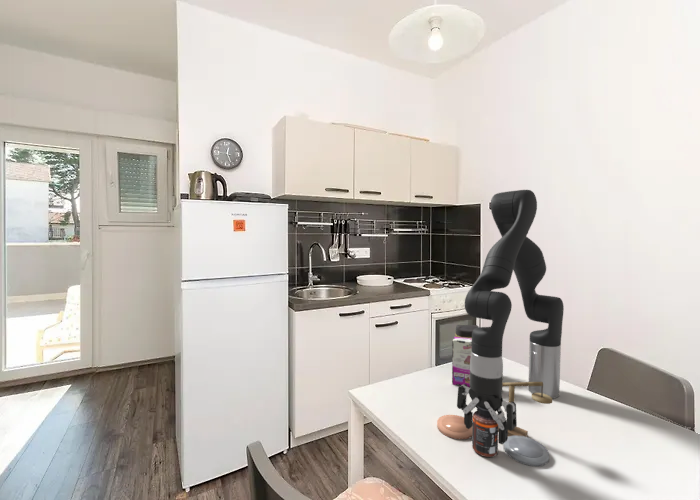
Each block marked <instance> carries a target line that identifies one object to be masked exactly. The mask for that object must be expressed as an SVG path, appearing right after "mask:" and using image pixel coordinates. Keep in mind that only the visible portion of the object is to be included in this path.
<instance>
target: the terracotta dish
mask: <svg viewBox="0 0 700 500" xmlns="http://www.w3.org/2000/svg"><path fill="white" fill-rule="evenodd" d="M436 423H437V424H436V428H437V430H438V432H440V433H441V434H442V435H444V436H446V437H448V438H449V439H450V438H451V439H454V440H468V439H472V429H473V424H472V427H471V428H470V429H468V428H466V425H465V424H464V416H462V415H457V414H444V415H442V416H440V417H438V418H437V420H436Z"/></svg>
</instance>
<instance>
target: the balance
mask: <svg viewBox="0 0 700 500" xmlns="http://www.w3.org/2000/svg"><path fill="white" fill-rule="evenodd" d="M528 386H542V389H541V393H531V399H532V400H533V401H534V402H537V403H539V404H544V405H546V404H547V405H551V404H552V403H553V399H554V398H552V397H550V396H549V395H546V394H543V382H529V381H513V382H510V381H509V382H508V381H507V382H503V385H502V387H508V402H509V403H511V402H515V397H516V395H515V394H516V392H515V390H516V389H515V387H528ZM528 432H529V431H528V430H526V429H524V428H522V427H519V426H516V427H515V428H514V429H513V430H512V431H509V430H508V437H509V436H524V437H528V435H529V433H528ZM498 433H499V426H498Z"/></svg>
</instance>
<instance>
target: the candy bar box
mask: <svg viewBox="0 0 700 500" xmlns="http://www.w3.org/2000/svg"><path fill="white" fill-rule="evenodd" d="M451 345H452V346H451V348H452V355H451V356H452V357H451V358H452V359H451V360H452V361H451V362H452V365H451V366H452V368H451V371H452V372H451V374H452V377H451V385H453V386H457V387H460V386H461V385H463V384H466V385H467V387H469V388H470V359H471V351H472V339H471V338H461V337H456V336H453V339H452V342H451Z"/></svg>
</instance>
